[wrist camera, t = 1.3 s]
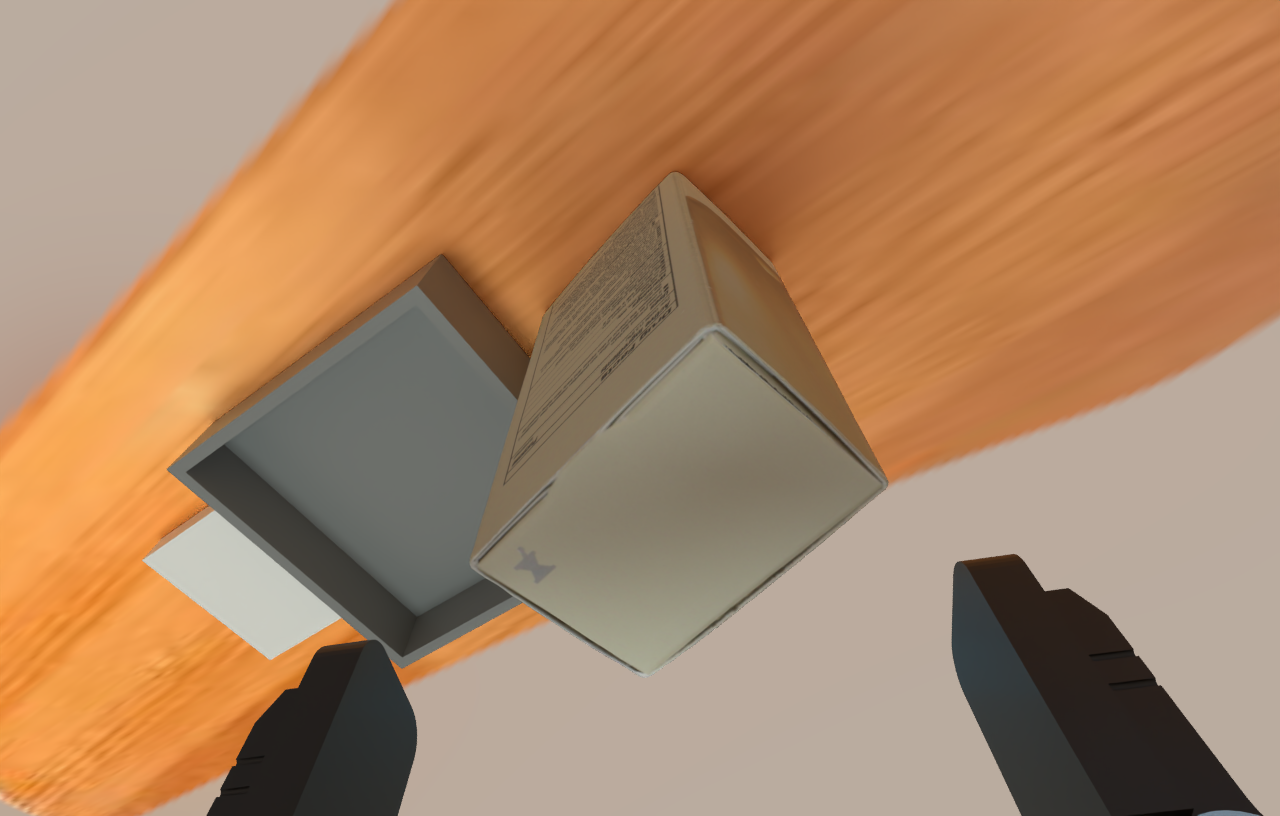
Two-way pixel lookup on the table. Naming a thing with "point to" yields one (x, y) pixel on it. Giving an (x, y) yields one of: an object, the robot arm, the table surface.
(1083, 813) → the robot arm
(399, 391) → the grey open tray
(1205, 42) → the table surface
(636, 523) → the skincare box
